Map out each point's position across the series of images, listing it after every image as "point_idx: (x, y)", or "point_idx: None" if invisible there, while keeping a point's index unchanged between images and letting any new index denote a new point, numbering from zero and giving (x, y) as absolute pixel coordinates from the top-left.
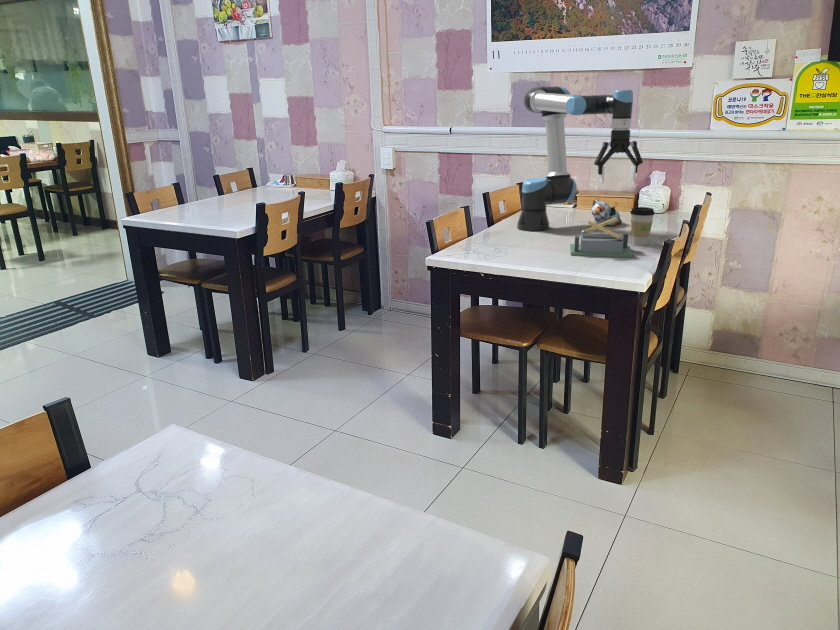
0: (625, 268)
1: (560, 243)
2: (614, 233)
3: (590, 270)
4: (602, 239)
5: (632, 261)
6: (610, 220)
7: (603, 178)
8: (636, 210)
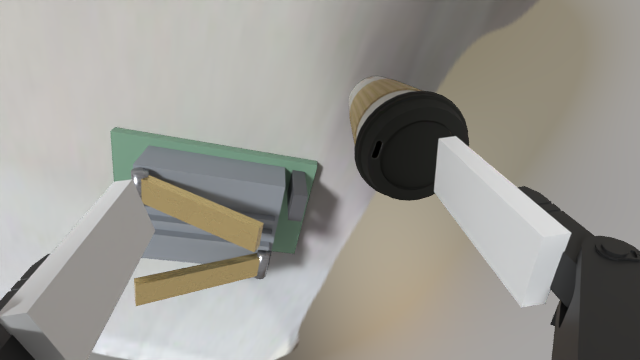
0: (249, 321)
1: (69, 69)
2: (239, 272)
3: (171, 333)
4: (206, 249)
5: (281, 278)
6: (232, 239)
7: (136, 259)
8: (373, 183)
